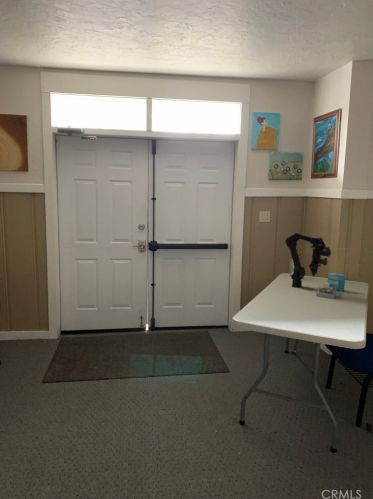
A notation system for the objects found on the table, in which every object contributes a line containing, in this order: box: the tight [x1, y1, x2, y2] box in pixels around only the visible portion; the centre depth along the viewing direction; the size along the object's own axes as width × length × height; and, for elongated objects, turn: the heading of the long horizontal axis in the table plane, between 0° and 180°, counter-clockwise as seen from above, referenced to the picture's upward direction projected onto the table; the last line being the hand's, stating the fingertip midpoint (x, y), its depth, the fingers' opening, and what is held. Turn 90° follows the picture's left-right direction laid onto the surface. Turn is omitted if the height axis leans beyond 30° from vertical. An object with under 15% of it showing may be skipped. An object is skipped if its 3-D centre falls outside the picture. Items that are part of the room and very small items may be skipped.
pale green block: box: [322, 282, 330, 288], centre depth 283 cm, size 4×4×3 cm
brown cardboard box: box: [318, 285, 334, 294], centre depth 284 cm, size 9×5×4 cm, turn 63°
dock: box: [315, 289, 337, 300], centre depth 284 cm, size 12×10×4 cm
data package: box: [327, 272, 346, 292], centre depth 301 cm, size 12×4×12 cm, turn 64°
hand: (314, 275), depth 293 cm, fingers open, 9 cm apart
